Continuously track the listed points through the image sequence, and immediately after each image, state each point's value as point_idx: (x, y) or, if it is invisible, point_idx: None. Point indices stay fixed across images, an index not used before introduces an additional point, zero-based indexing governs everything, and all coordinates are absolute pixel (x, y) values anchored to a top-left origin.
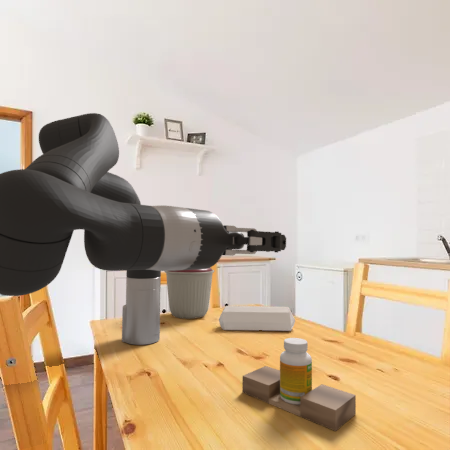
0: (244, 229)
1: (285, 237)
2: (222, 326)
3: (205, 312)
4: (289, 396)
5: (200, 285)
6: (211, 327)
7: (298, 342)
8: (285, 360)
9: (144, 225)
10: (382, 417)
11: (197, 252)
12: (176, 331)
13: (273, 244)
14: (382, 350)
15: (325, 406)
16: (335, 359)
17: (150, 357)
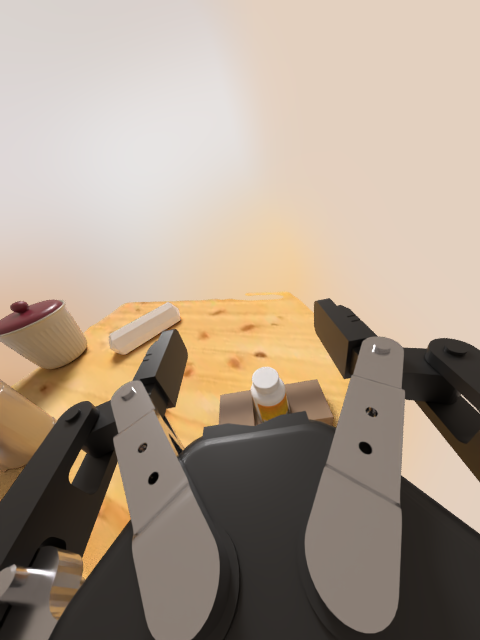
0: (397, 445)
1: (349, 309)
2: (119, 352)
3: (86, 344)
4: None
5: (60, 326)
6: (107, 359)
7: (271, 378)
8: (268, 404)
9: None
10: (331, 377)
11: None
12: (72, 392)
13: (454, 398)
14: (254, 303)
15: (322, 418)
16: (240, 332)
17: (72, 470)
